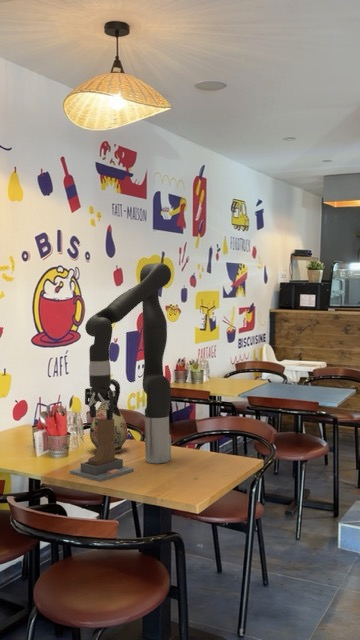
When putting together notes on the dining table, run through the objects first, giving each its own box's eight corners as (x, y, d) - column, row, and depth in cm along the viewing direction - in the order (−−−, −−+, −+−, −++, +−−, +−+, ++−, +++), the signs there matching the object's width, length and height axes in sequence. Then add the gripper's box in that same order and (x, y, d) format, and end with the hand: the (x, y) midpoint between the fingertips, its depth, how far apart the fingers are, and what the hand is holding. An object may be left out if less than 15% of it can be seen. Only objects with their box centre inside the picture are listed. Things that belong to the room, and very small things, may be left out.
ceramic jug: (81, 453, 249) (80, 379, 248) (105, 445, 263) (104, 375, 262) (115, 458, 240) (114, 381, 240) (138, 450, 254) (137, 377, 253)
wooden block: (96, 473, 216) (95, 422, 216) (87, 471, 219) (87, 420, 219) (115, 468, 223) (114, 418, 222) (107, 466, 226) (106, 417, 225)
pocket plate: (103, 464, 232) (103, 453, 232) (133, 471, 222) (133, 460, 222) (70, 473, 220) (69, 462, 220) (100, 481, 210) (100, 469, 210)
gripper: (121, 373, 218) (122, 419, 219) (94, 371, 227) (95, 414, 228) (105, 375, 212) (107, 422, 213) (78, 373, 221) (79, 418, 222)
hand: (101, 418), depth 220 cm, fingers open, 8 cm apart
